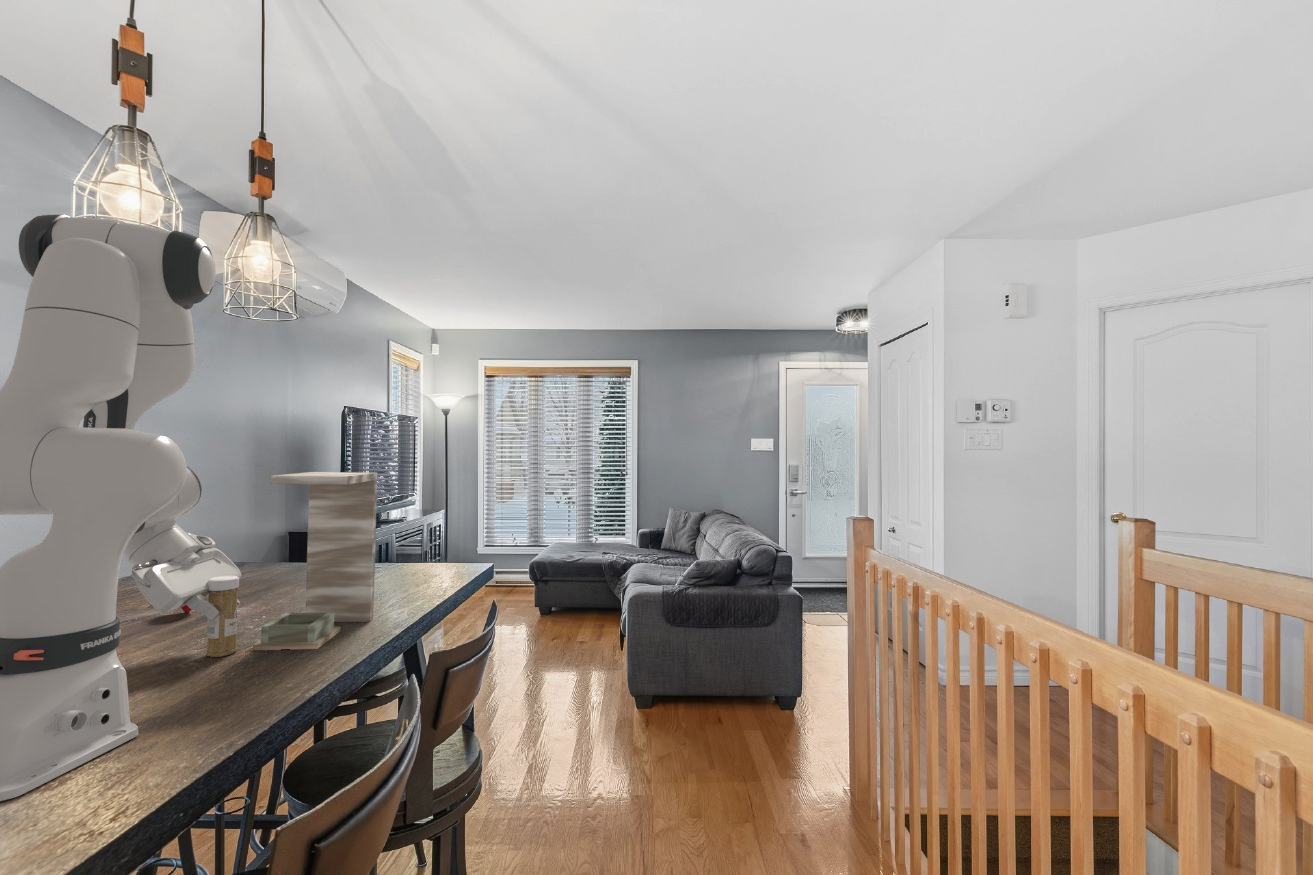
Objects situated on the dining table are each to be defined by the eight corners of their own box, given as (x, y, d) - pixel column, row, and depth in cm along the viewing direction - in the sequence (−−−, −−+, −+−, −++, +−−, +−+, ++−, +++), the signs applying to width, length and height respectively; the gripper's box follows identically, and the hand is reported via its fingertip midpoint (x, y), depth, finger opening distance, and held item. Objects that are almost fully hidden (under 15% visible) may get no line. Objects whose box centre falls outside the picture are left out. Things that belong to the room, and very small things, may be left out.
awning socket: (337, 648, 114) (342, 476, 114) (252, 650, 112) (258, 475, 113) (373, 618, 134) (377, 472, 134) (301, 619, 132) (306, 471, 132)
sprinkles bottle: (239, 654, 110) (241, 577, 110) (207, 659, 107) (210, 581, 107) (233, 647, 113) (236, 573, 113) (203, 653, 110) (205, 577, 110)
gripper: (141, 553, 99) (205, 614, 100) (215, 535, 119) (268, 586, 120) (109, 581, 98) (174, 642, 99) (189, 559, 119) (242, 609, 120)
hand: (226, 611), depth 110 cm, fingers closed on sprinkles bottle, 4 cm apart
